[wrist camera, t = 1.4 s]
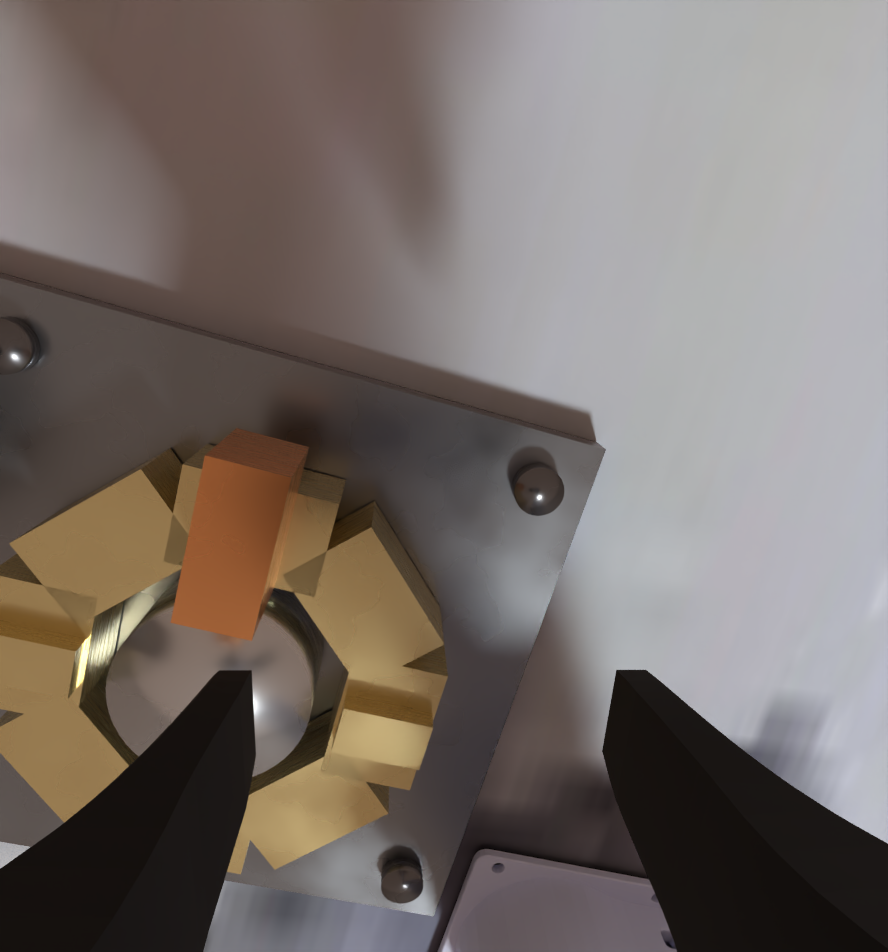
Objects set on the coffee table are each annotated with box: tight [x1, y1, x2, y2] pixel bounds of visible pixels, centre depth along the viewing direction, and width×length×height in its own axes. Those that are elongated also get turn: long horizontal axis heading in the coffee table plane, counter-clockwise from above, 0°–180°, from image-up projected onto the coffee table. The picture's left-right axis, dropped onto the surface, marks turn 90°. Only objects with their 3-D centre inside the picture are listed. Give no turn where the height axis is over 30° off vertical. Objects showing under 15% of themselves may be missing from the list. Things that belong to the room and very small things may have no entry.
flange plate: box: [0, 273, 606, 916], centre depth 21 cm, size 20×20×4 cm
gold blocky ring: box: [0, 428, 448, 874], centre depth 20 cm, size 14×15×5 cm
